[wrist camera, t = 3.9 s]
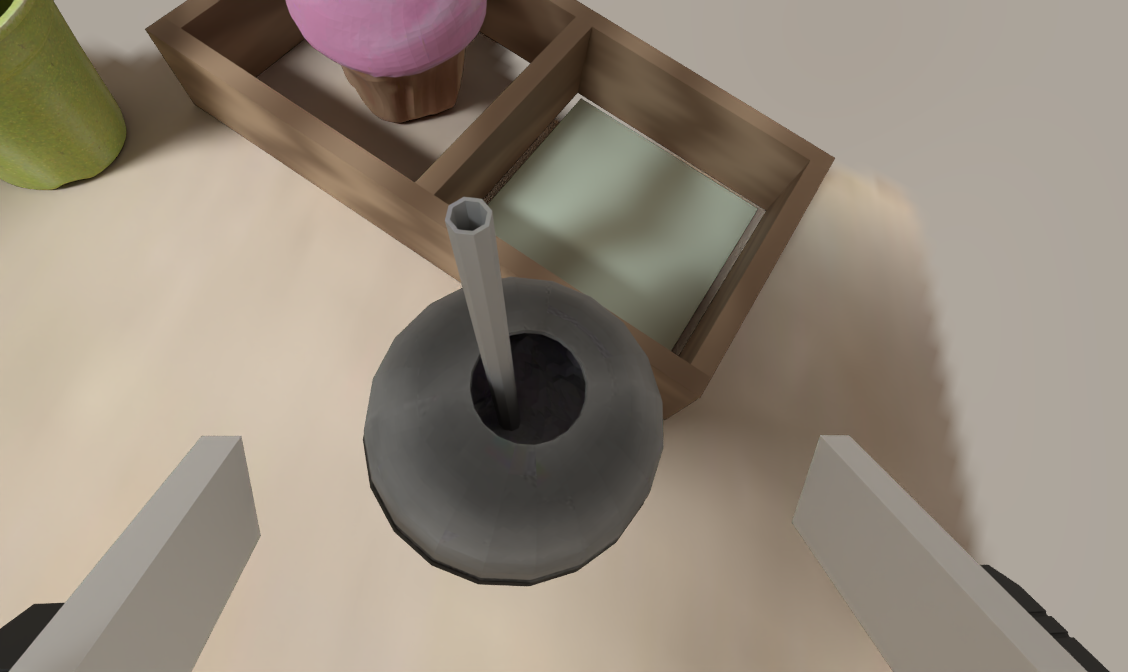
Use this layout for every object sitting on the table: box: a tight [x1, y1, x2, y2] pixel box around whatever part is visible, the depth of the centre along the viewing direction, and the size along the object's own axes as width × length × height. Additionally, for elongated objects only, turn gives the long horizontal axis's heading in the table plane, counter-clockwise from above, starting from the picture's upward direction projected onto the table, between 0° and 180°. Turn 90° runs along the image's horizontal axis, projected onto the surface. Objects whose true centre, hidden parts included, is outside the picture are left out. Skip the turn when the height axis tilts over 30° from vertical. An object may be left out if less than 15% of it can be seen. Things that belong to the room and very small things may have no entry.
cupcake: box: [286, 0, 487, 123], centre depth 26 cm, size 9×9×10 cm
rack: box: [145, 0, 835, 420], centre depth 28 cm, size 29×15×4 cm, turn 57°
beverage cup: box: [363, 197, 663, 586], centre depth 15 cm, size 7×7×20 cm
